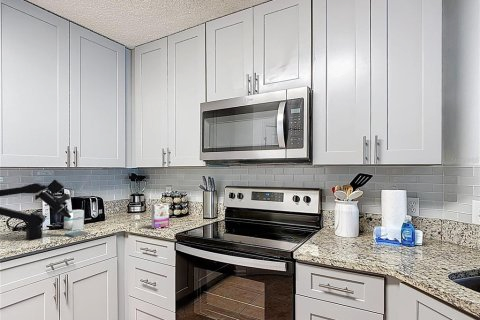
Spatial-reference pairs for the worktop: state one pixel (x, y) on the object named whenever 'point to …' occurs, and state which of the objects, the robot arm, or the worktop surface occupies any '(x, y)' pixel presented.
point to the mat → (76, 234)
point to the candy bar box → (160, 215)
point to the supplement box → (77, 219)
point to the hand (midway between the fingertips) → (71, 216)
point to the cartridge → (68, 221)
